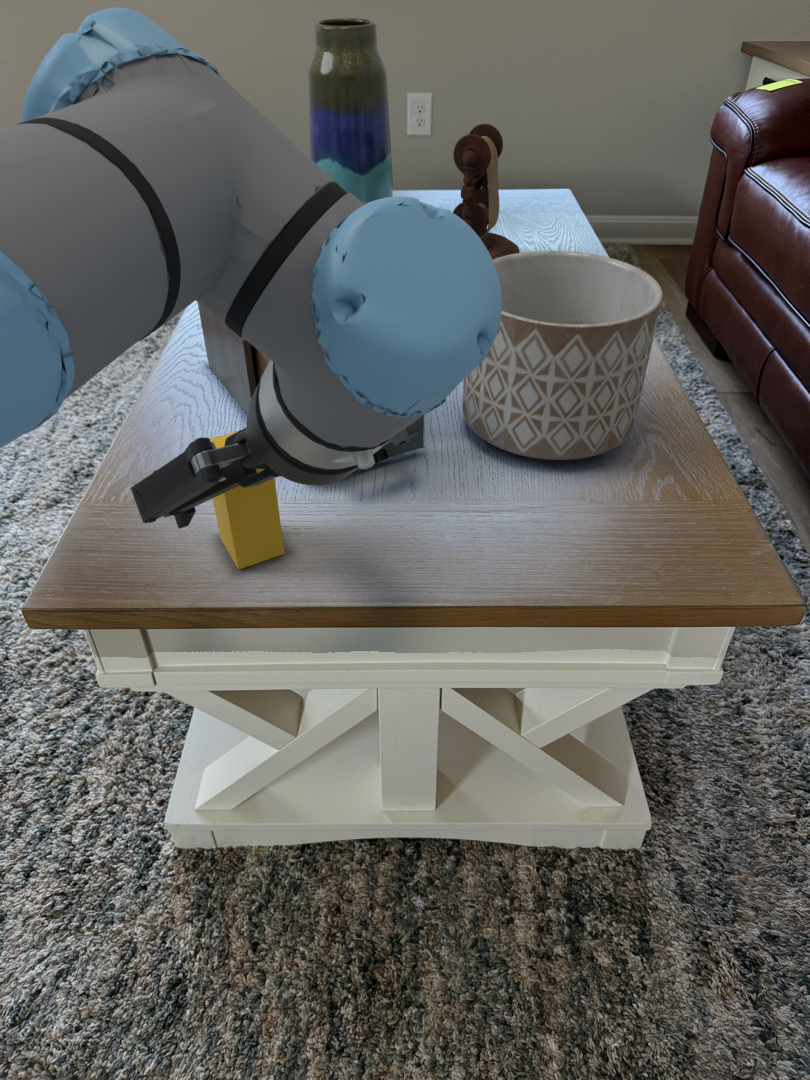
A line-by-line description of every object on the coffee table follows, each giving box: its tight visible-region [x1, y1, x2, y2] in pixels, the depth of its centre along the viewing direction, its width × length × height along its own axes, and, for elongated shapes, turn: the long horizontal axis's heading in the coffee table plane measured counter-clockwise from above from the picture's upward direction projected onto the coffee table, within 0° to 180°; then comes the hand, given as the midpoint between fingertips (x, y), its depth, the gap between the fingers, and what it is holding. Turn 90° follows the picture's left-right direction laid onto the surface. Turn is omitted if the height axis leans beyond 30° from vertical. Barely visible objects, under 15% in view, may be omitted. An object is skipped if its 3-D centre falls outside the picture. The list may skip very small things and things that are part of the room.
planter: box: [461, 250, 664, 461], centre depth 85 cm, size 19×19×16 cm
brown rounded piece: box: [452, 123, 521, 260], centre depth 121 cm, size 15×15×20 cm
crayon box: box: [209, 430, 285, 570], centre depth 70 cm, size 4×5×11 cm
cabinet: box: [197, 302, 257, 417], centre depth 94 cm, size 17×15×11 cm
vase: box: [308, 17, 394, 202], centre depth 129 cm, size 14×14×31 cm
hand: (260, 485), depth 63 cm, fingers open, 13 cm apart
